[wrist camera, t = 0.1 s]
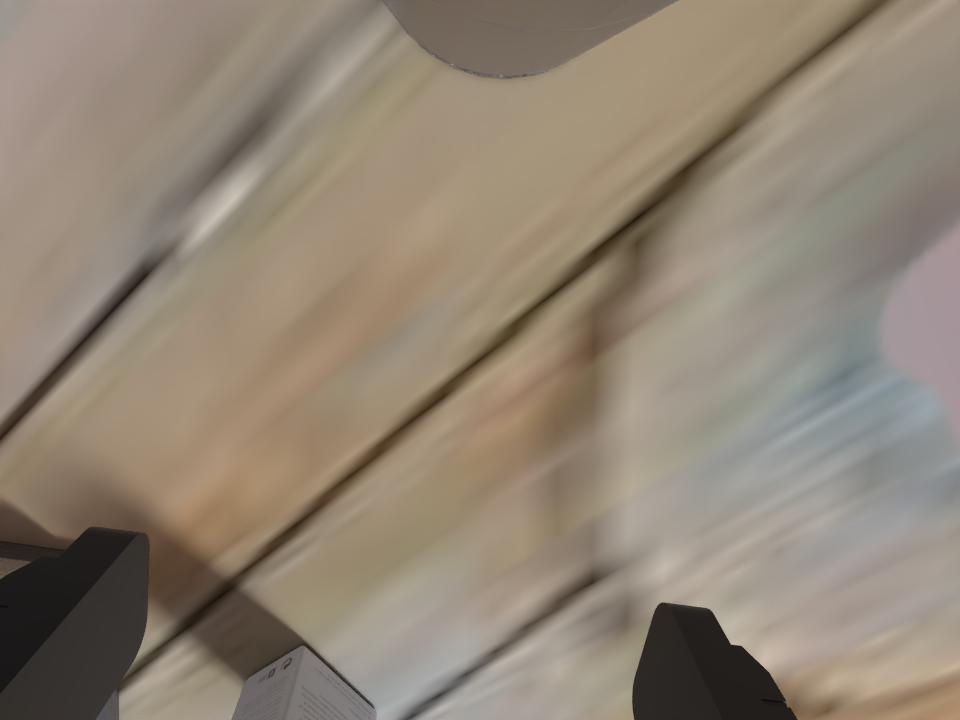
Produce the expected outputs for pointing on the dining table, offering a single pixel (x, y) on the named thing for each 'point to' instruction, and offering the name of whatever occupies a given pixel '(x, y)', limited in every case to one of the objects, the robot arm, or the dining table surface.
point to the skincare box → (300, 692)
